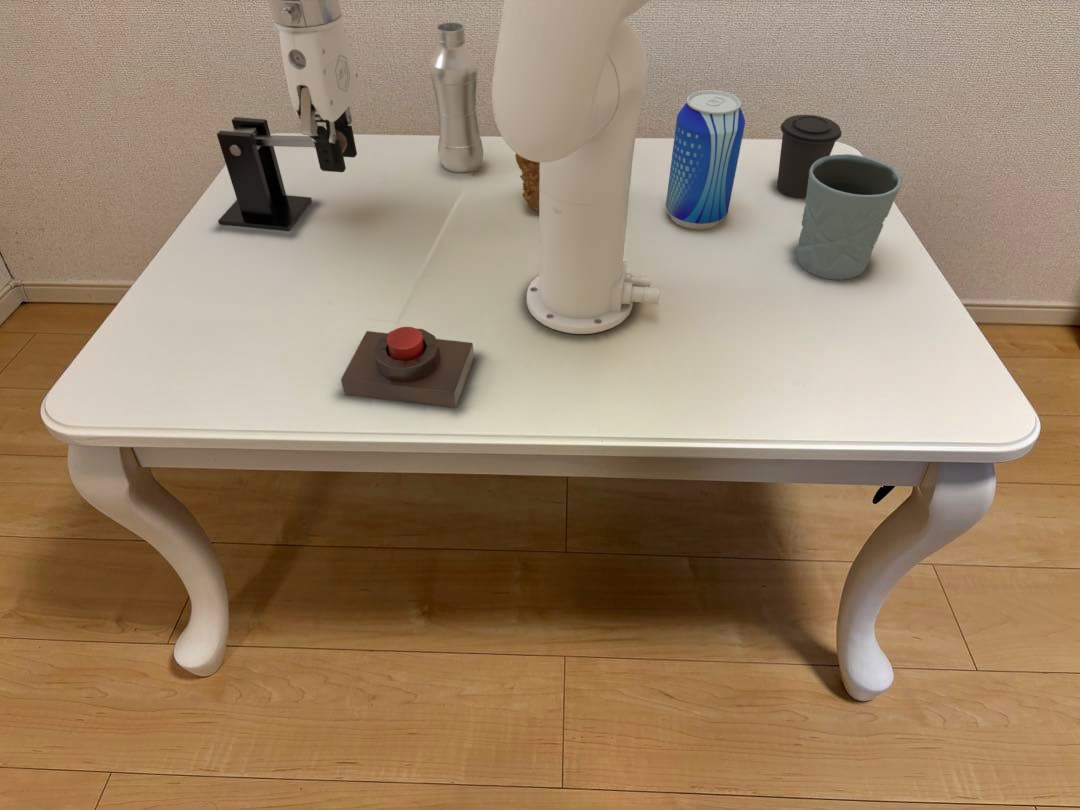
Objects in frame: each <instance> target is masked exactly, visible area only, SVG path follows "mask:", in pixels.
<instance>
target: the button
mask: <svg viewBox="0 0 1080 810" xmlns="http://www.w3.org/2000/svg"><path fill="white" fill-rule="evenodd" d="M418 329H419V328H417V329H416V327H413V326H401V327H397V328H395V329H393V330H391V331H392V332H391V331H390V332H391V333H390V334H389V335H388V337H387V343H388V348H389V354H390V356H391V357H392V358H393V359H395V360H400V361H409V360H413V359H417V358H418V357H420V356H421V355H422V354H423V352H424V344H423V337H422V333H421V332H420V331H419V330H418Z"/></svg>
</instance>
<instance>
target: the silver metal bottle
mask: <svg viewBox="0 0 1080 810" xmlns="http://www.w3.org/2000/svg"><path fill="white" fill-rule="evenodd" d="M435 29H436V38H435V39H436V44H438V47H437V49H436V50H435V51H434V53H433V55H432V57H431V59H430V62H429V68H428V71H429V77H430V79H431V83H432V89H433V91H434V96H435V101H436V107H437V114H438V128H439V129H438V134H439V135H438V136H439V137H438V144H437V145H438V146H437V147H438V148H437V150H438V151H437V154H438V157H439V160H440V163H441V165H442V166H443V167H444V169H446V170H447V171H449V172H452V173H458V174H461V173H463V174H465V173H471V172H474V171H476V170H478V169H479V168H480V167H481V164H482V163H483V161H484V146H483V142H482V138H481V135H480V130H479V129H480V128H479V123H478V117H477V83H478V65H477V62H476V60H475V58H474V56H473V55H472V53H471V52H470V51H469V49H468V48H467V46H465V43H466V42H467V37H466V32H465V30H466V29H465V25H464V24H462V23H459V22H443V23H439V24H438V25H436V28H435Z"/></svg>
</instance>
